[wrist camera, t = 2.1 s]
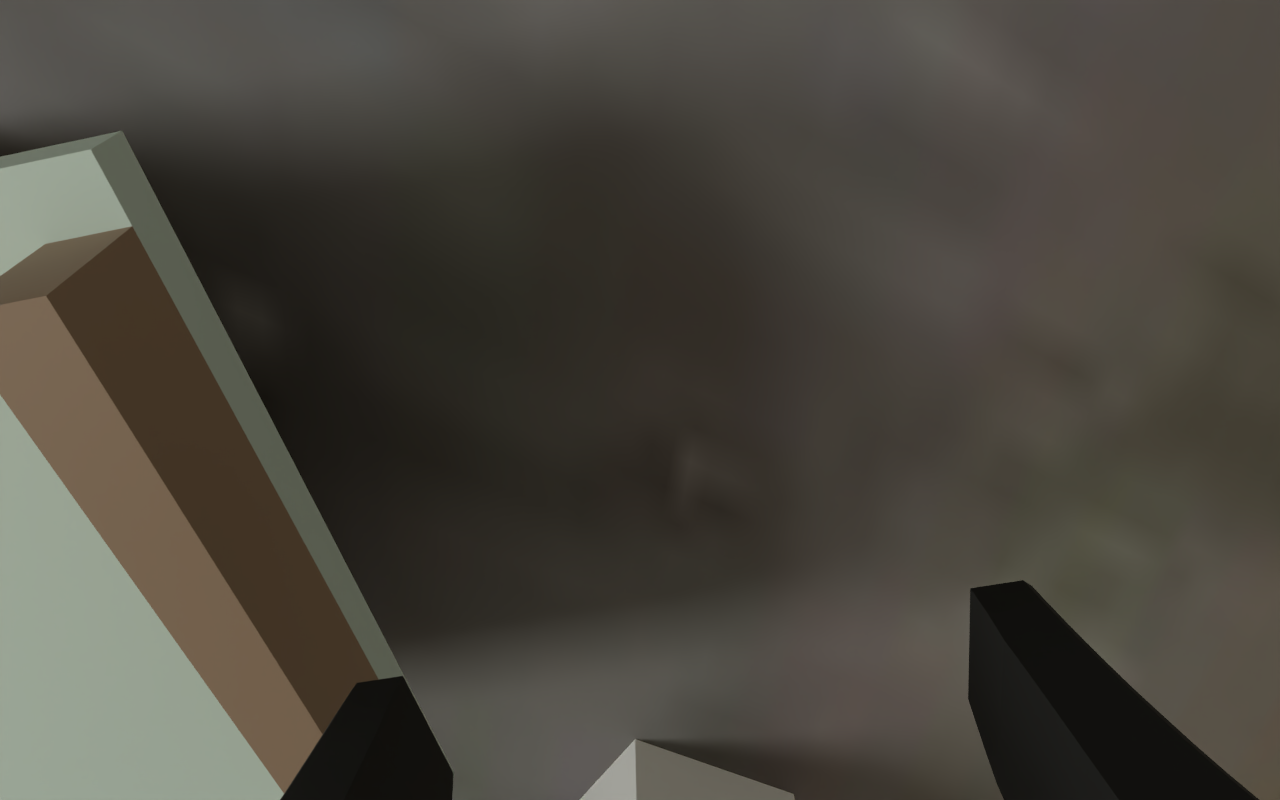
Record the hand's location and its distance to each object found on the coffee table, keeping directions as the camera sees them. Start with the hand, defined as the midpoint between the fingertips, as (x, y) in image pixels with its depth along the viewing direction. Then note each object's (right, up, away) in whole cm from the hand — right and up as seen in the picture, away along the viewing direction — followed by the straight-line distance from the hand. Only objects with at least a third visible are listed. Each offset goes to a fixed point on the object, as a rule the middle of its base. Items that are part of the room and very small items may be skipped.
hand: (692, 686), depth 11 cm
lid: (-12, 0, +5) cm, 13 cm away
